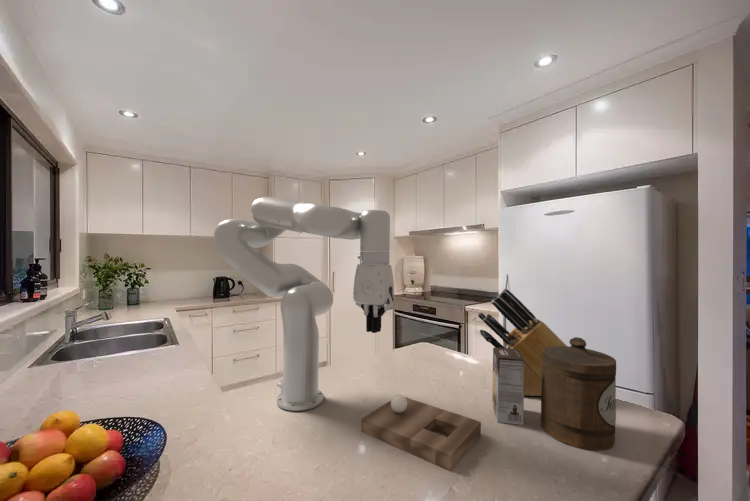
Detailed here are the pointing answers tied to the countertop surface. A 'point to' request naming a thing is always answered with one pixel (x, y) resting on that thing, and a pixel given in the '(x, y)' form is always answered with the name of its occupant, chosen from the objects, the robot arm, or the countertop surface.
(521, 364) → the coffee box
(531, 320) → the knife block
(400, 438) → the board
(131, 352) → the countertop surface
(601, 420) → the wooden container
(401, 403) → the ball
